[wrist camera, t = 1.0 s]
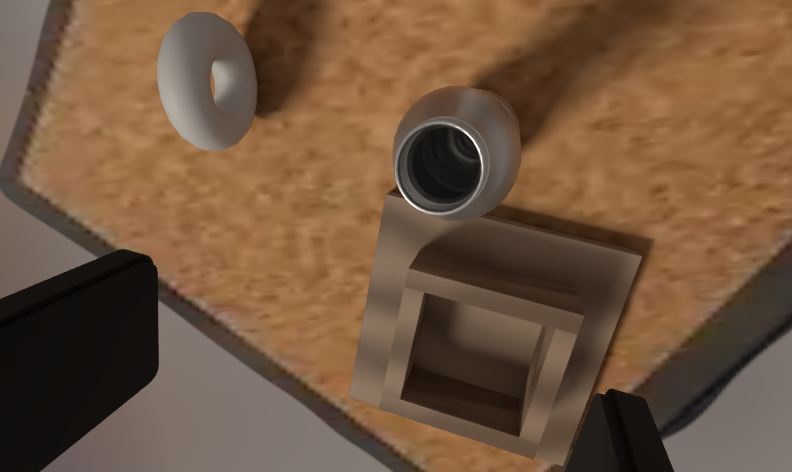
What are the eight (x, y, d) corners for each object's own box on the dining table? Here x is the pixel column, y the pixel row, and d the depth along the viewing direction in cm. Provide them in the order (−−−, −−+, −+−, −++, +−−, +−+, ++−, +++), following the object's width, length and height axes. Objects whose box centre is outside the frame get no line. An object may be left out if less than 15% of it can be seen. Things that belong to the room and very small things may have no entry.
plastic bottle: (525, 92, 35) (539, 80, 16) (513, 182, 37) (512, 263, 18) (440, 87, 36) (361, 70, 18) (432, 173, 38) (355, 241, 19)
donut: (268, 146, 41) (195, 159, 32) (233, 144, 42) (152, 156, 32) (264, 23, 38) (183, -3, 29) (226, 22, 39) (135, -3, 30)
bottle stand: (390, 191, 39) (368, 207, 33) (637, 250, 36) (662, 280, 30) (353, 387, 46) (329, 431, 40) (561, 454, 42) (568, 513, 36)
